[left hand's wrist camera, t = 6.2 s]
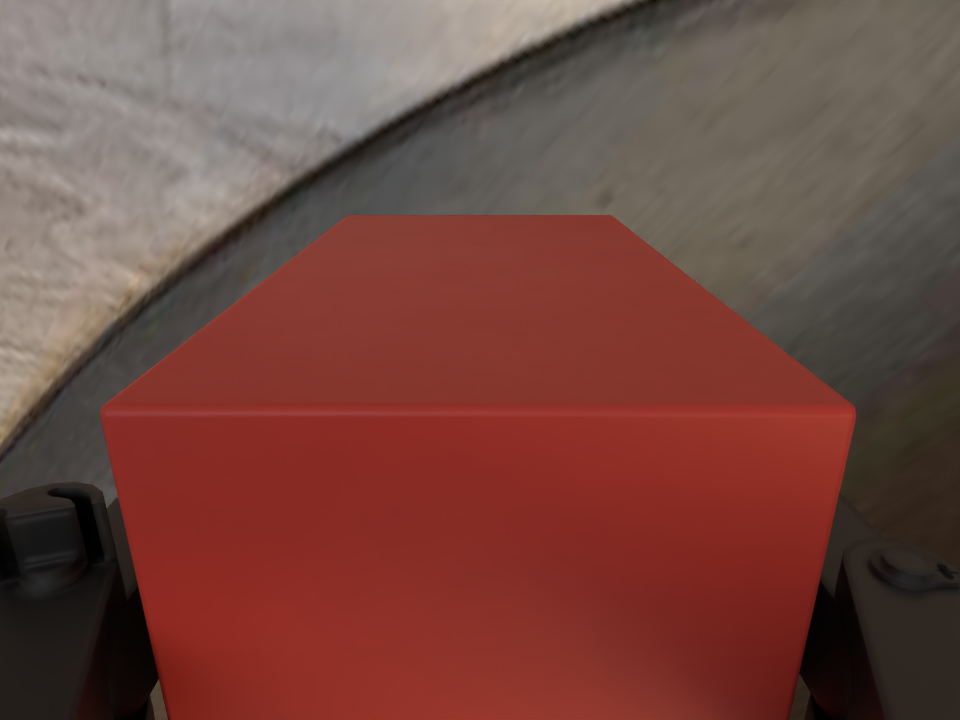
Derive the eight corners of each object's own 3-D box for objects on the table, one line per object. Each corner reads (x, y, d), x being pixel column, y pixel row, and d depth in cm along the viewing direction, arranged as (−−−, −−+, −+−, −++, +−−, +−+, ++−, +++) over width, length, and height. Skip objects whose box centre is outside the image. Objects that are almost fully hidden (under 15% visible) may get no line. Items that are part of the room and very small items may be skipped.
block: (613, 214, 16) (863, 406, 6) (595, 463, 18) (747, 923, 8) (345, 214, 16) (92, 407, 6) (363, 463, 18) (209, 923, 8)
